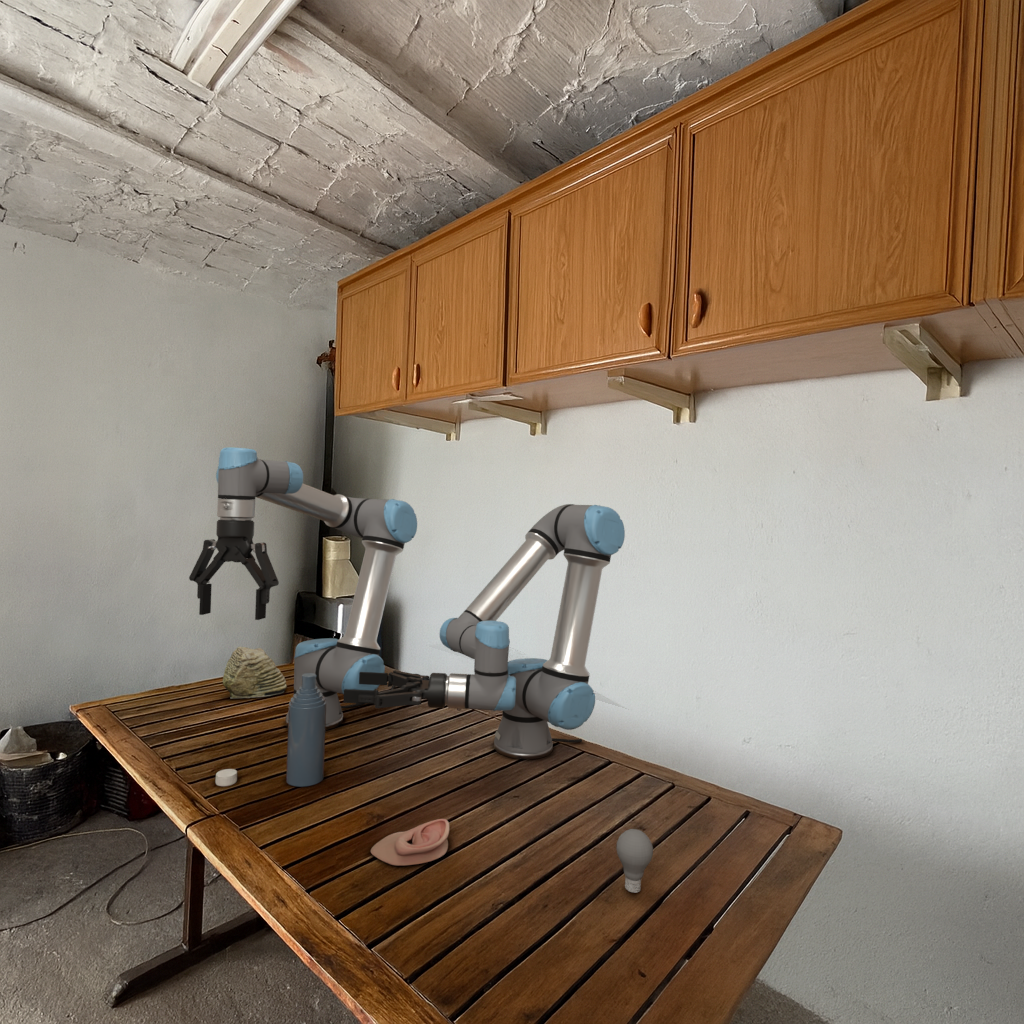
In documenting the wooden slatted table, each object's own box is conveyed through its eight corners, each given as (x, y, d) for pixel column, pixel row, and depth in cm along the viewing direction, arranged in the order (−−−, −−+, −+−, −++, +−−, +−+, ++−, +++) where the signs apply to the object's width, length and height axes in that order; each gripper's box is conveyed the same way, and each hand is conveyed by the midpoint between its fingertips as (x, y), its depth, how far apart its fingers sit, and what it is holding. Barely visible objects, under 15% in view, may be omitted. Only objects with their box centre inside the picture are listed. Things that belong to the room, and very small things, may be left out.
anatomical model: (363, 838, 111) (389, 807, 122) (362, 860, 111) (388, 827, 122) (436, 849, 108) (455, 817, 119) (435, 872, 108) (454, 838, 119)
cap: (218, 788, 136) (219, 778, 136) (213, 780, 139) (213, 771, 139) (239, 783, 138) (239, 774, 138) (233, 776, 142) (233, 767, 142)
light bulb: (610, 879, 108) (613, 822, 108) (644, 879, 109) (647, 822, 109) (619, 902, 102) (622, 840, 102) (655, 901, 103) (658, 840, 103)
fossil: (218, 695, 195) (220, 647, 195) (278, 685, 208) (279, 640, 207) (228, 703, 189) (230, 653, 188) (289, 692, 201) (290, 645, 201)
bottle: (286, 788, 137) (290, 680, 136) (286, 773, 144) (289, 670, 144) (324, 784, 139) (328, 678, 139) (322, 769, 147) (326, 669, 147)
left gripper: (173, 516, 136) (170, 614, 137) (277, 522, 131) (274, 624, 132) (197, 516, 144) (194, 609, 144) (297, 521, 139) (293, 617, 139)
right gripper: (439, 727, 129) (335, 722, 129) (451, 690, 154) (364, 686, 154) (441, 690, 129) (337, 686, 129) (452, 659, 154) (365, 656, 154)
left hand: (232, 616), depth 138 cm, fingers open, 13 cm apart
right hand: (351, 686), depth 142 cm, fingers open, 13 cm apart
